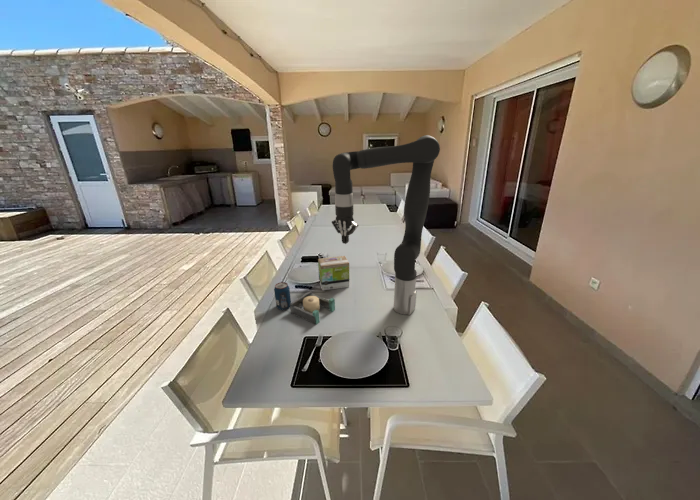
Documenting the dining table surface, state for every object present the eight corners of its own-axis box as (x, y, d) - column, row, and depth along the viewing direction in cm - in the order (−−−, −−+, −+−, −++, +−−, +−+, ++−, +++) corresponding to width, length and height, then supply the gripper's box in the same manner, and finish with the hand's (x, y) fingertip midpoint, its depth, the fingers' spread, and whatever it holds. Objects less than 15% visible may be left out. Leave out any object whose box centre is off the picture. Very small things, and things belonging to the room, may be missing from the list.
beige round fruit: (322, 309, 135) (322, 298, 132) (313, 317, 129) (312, 306, 126) (310, 304, 138) (309, 294, 136) (300, 312, 132) (299, 301, 130)
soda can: (285, 301, 141) (282, 280, 136) (294, 306, 137) (292, 284, 132) (273, 307, 136) (270, 285, 131) (282, 313, 132) (280, 290, 127)
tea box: (322, 291, 149) (320, 266, 143) (319, 282, 158) (317, 258, 152) (350, 287, 153) (349, 262, 147) (345, 278, 162) (344, 254, 156)
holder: (335, 309, 134) (334, 298, 131) (316, 324, 124) (315, 313, 121) (310, 299, 142) (309, 289, 140) (290, 313, 132) (289, 302, 130)
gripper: (362, 204, 117) (362, 243, 124) (337, 200, 124) (338, 237, 131) (352, 208, 112) (352, 249, 118) (326, 203, 119) (328, 242, 126)
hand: (345, 242), depth 125 cm, fingers closed
